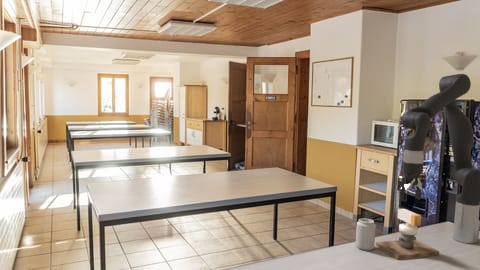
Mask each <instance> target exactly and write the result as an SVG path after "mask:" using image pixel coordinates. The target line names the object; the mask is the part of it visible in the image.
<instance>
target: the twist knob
mask: <svg viewBox="0 0 480 270" xmlns="http://www.w3.org/2000/svg"><path fill="white" fill-rule="evenodd" d="M397 219H399V220H401V221H403V222H404V223H399V226H398V232H399V233H400V234H401V233H402V234H406V235H414V236H416V235H418V229H419V228H418V227H420V226H422V225H421V224H422V215H421V214H418V213H415V212H413V211H410V210H409V209H406V208H398V210H397Z"/></svg>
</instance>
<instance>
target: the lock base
mask: <svg viewBox="0 0 480 270" xmlns="http://www.w3.org/2000/svg"><path fill="white" fill-rule="evenodd" d="M375 246H376V247H377V248H379V249H380V250H382V251H384V252H385V253H386V254H387V255H389V256H391V257H393V258H394V259H396V260H403V259H414V258H426V257H434V256H440V251H439V250H437V249H435V248H434V247H431V246H429V245H428V244H425V243H424V242H422V241H420V240H418V239H417V236H416V235H406V234H402V233H400V237H399V236H398V240H388V241H385V240H384V241H376V242H375Z"/></svg>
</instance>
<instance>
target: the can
mask: <svg viewBox="0 0 480 270" xmlns="http://www.w3.org/2000/svg"><path fill="white" fill-rule="evenodd" d="M376 227H377V225H376V224H375V221H374V219H371V218H367V217H362V218H359V219H358V221H357V222H356V232H355V246H356V247H357V249H358V250H361V249H362V250H361V251H372V250H373V249H374V248H375V243H376V242H375V240H376Z"/></svg>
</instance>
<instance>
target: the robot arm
mask: <svg viewBox="0 0 480 270" xmlns="http://www.w3.org/2000/svg"><path fill="white" fill-rule="evenodd" d="M438 87H439V92H437V93H435V94H433V95H431V96H429V97H428V98H426V99H425V100H424V101H423V102H422V103H421V104H420V105H418V106H416V107H413V108H411V109H409V110H407V111H406V112H405V113H404V114H403V116H402V117H401V125H402V127H403V128H404V129H408V130H415V132H414V134H411V135H409V134H408V135H407V136H406V137H405V139H404V151H403V159H402V172H403V173H404V175H403V176H402V175H399V176H398V177H397V188H396V191H398V192H400V201H402V202H404V203H406V202H407V201H408V191H409V190H410V189H411V188H412V187H415V190H414V191H415V195H414V199H417V200H421V198H422V191H423V189H424V190H425V189H426V187H427V186H426V185H427V184H426V183H427V175H426V174H425V173H424V160H425V156H424V155H425V154H424V152H425V151H424V147H425V139H426V136H427V133H428V131H429V128H430V125H431V119H433V118H434V117H435V116H436V115H437V114H438V113H440V112H441V111H442V110H443V109H444V112H445V116H446V122H447V128H448V134H449V135H448V136H449V140H450V146H451V151H452V155H453V166H454V178H455V181H456V183H458V185H460V186H461V187H462V188H461V193H459V194H457V195H456V197H455V198H456V199H455V210H454V212H455V213H454V222H453V223H454V224H453V230H452V231H453V232H452V239H454V240H455V241H457V242H461V243H465V244H476V243H478V242H479V236H480V220H479V217H480V169H477V168H474V166H473V162H472V156H471V151H472V149H473V145H474V141H475V139H474V130H473V125H472V122H471V120H470V119H469V118H468V116H466V114H465V113H464V112H463V111H462V110H461V108H460V107H459V106H458V103H457V99H458V98H461V97H462V96H464V95H466V94H467V93H468V92H469V91H470V90H471V79H470V77H469V76H468V75H467V74H465V73H457V74H451V75H445V76H443V77H441V78H439V83H438Z"/></svg>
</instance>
